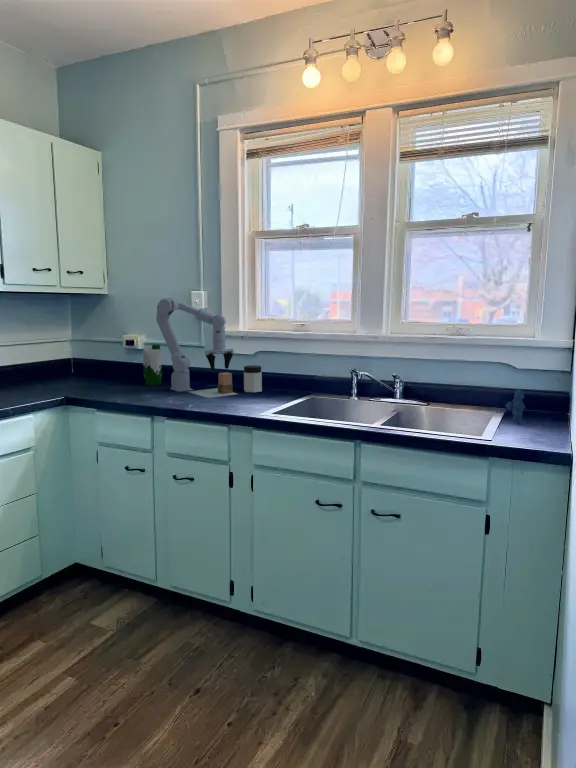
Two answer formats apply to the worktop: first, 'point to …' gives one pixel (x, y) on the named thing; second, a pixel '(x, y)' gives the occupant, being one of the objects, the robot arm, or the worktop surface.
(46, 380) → the worktop surface
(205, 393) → the mat
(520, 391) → the grapes
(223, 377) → the terracotta block
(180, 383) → the robot arm
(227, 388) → the walnut block
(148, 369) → the milk carton
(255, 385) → the jar
